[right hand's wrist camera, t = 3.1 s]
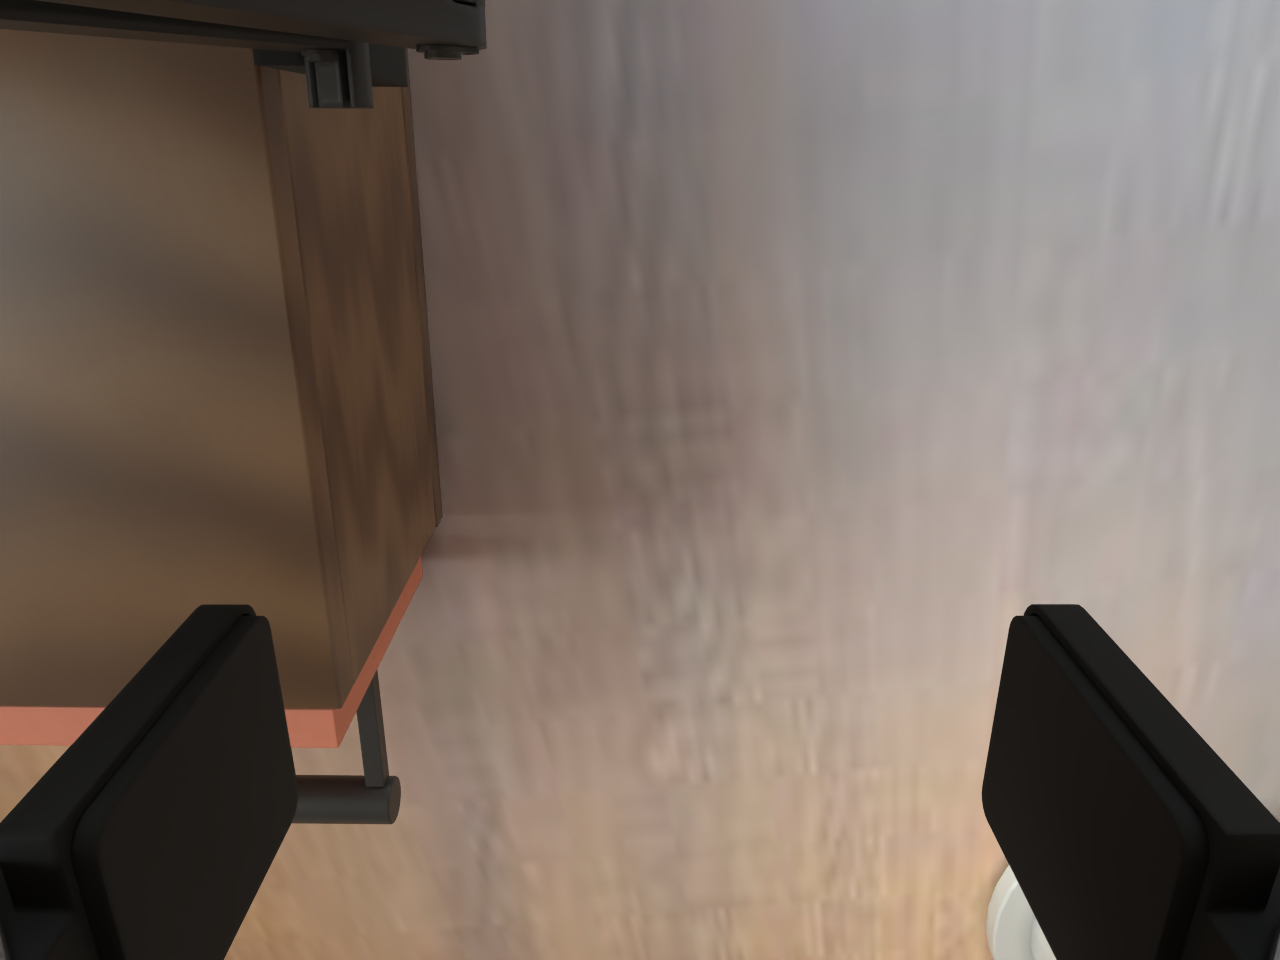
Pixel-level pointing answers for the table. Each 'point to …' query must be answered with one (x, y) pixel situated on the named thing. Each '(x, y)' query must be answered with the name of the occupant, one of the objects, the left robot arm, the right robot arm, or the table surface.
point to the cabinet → (203, 364)
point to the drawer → (307, 729)
